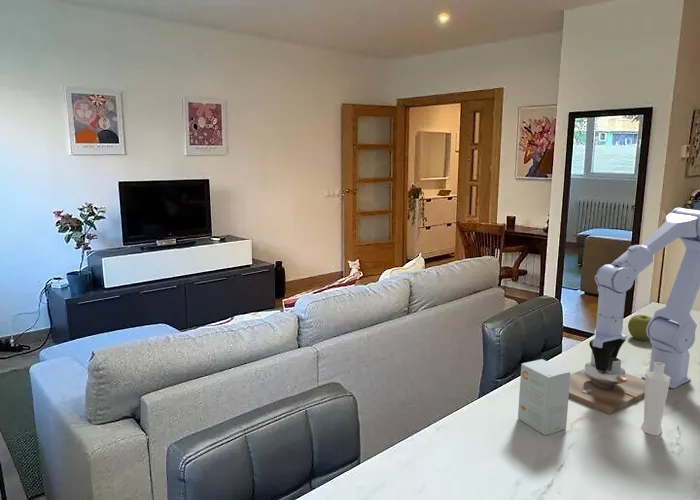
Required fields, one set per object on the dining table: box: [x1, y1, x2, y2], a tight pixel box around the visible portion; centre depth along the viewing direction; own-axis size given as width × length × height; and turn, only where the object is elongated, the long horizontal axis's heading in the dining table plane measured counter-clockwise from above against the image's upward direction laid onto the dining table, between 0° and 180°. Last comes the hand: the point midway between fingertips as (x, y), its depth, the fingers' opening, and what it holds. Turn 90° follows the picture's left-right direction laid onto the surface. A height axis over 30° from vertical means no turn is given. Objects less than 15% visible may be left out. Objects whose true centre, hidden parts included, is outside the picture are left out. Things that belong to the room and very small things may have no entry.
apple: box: [627, 314, 653, 341], centre depth 165 cm, size 8×8×7 cm
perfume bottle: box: [640, 362, 671, 436], centre depth 111 cm, size 5×4×15 cm
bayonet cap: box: [584, 351, 627, 384], centre depth 130 cm, size 11×9×6 cm
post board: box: [568, 368, 645, 415], centre depth 131 cm, size 22×16×3 cm
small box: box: [517, 358, 571, 436], centre depth 114 cm, size 8×6×13 cm
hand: (604, 367), depth 130 cm, fingers closed on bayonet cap, 4 cm apart
